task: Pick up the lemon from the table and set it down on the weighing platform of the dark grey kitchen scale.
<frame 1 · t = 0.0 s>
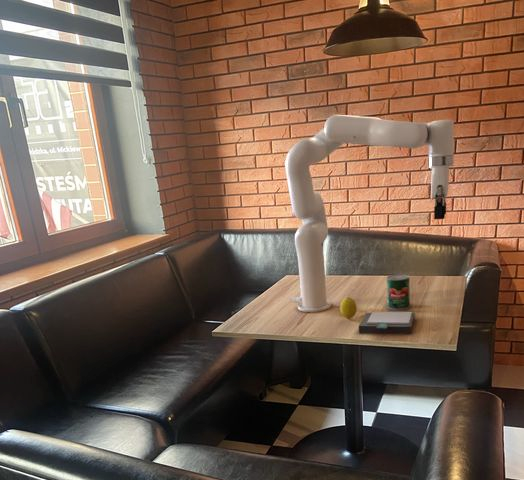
hand: (440, 216, 176), 31 cm above the table, tool pointing down, fingers open, 9 cm apart
lemon: (349, 320, 185), on the table
canned tomato: (398, 307, 193), on the table
scale: (387, 326, 174), on the table
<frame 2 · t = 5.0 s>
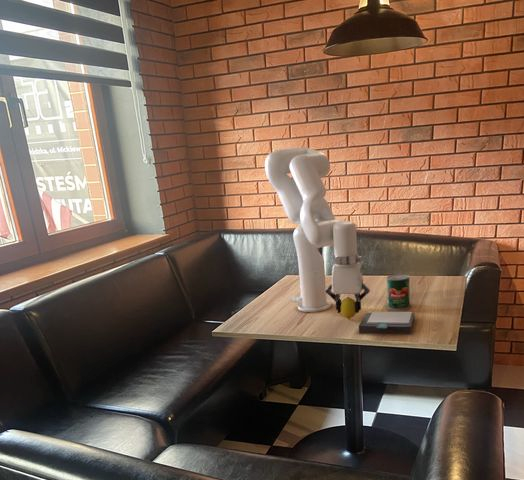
hand: (348, 311, 184), 3 cm above the table, tool pointing down, fingers closed on lemon, 5 cm apart
lemon: (349, 320, 185), on the table, touching gripper
everything else where it was.
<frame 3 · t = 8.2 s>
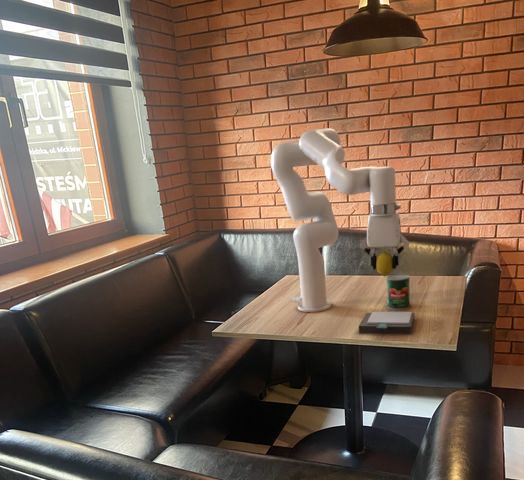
hand: (384, 267, 169), 19 cm above the table, tool pointing down, fingers closed on lemon, 5 cm apart
lemon: (384, 277, 170), point 16 cm above the table, touching gripper
everything else where it was.
when the fingers open (6 cm above the table, at t = 11.6 s): lemon stays where it is, resting on scale.
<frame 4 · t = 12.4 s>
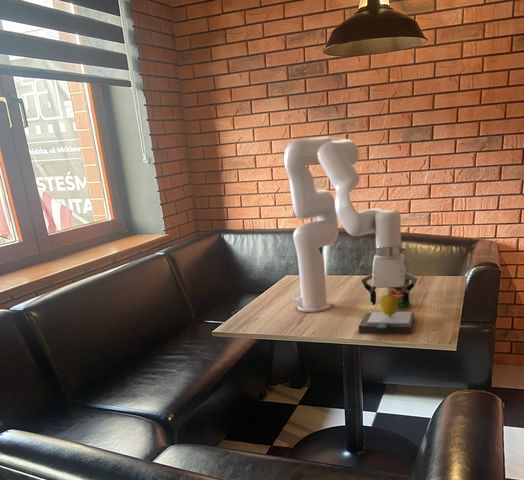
hand: (389, 304, 172), 7 cm above the table, tool pointing down, fingers open, 9 cm apart
lemon: (389, 317, 173), point 3 cm above the table, touching scale
everything else where it was.
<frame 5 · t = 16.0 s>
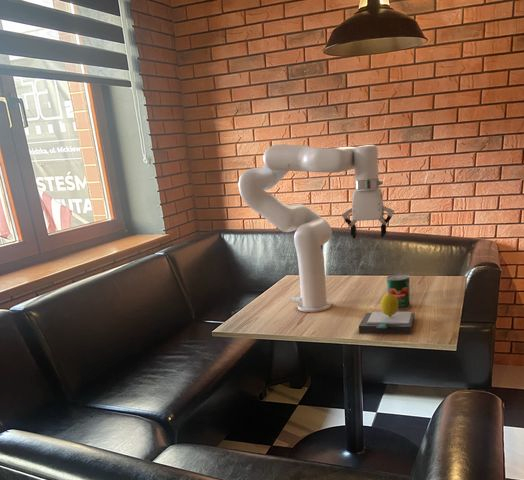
hand: (368, 237, 182), 26 cm above the table, tool pointing down, fingers open, 9 cm apart
nothing on the table moved.
at the end: lemon inside the target area on the scale (0.1 cm from its centre), point 2.9 cm above the scale's base; the gripper is holding nothing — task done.
